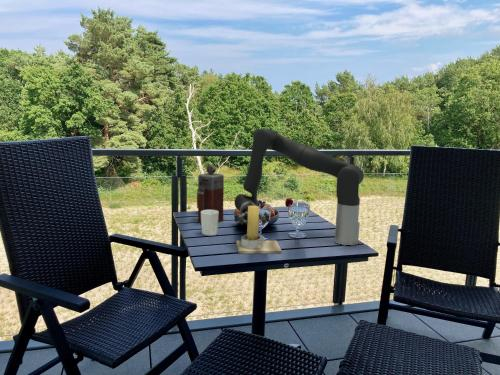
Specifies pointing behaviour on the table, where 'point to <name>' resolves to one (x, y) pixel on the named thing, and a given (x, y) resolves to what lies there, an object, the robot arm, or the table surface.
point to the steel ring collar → (252, 242)
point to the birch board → (268, 247)
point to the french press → (210, 192)
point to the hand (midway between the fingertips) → (253, 221)
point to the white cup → (209, 222)
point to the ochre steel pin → (252, 222)
